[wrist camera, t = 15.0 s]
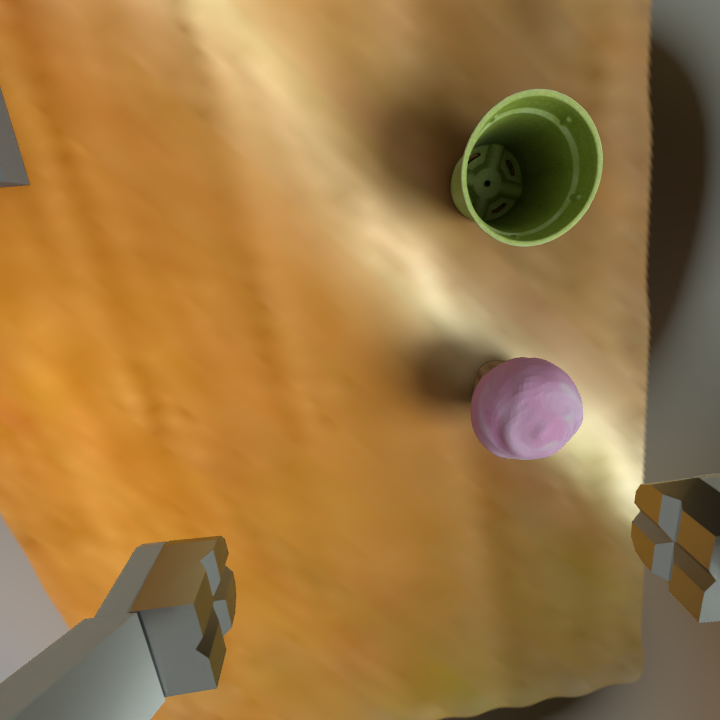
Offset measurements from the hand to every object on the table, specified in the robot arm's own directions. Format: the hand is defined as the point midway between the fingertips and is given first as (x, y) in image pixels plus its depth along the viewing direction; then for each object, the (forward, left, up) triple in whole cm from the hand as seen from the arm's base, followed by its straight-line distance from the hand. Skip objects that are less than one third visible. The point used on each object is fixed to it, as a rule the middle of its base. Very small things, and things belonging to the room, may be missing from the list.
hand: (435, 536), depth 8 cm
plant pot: (-8, +12, -31) cm, 34 cm away
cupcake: (+10, +13, -31) cm, 35 cm away
